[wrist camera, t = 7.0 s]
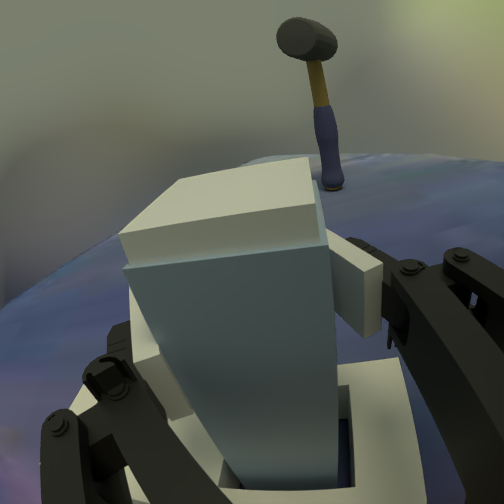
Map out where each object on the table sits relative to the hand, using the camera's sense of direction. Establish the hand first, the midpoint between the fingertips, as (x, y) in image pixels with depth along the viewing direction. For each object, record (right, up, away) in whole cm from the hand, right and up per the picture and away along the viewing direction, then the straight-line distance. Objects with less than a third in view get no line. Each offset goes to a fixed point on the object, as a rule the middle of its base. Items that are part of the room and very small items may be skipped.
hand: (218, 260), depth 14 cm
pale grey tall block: (+4, -10, 0) cm, 11 cm away
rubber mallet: (+16, +11, +40) cm, 45 cm away
